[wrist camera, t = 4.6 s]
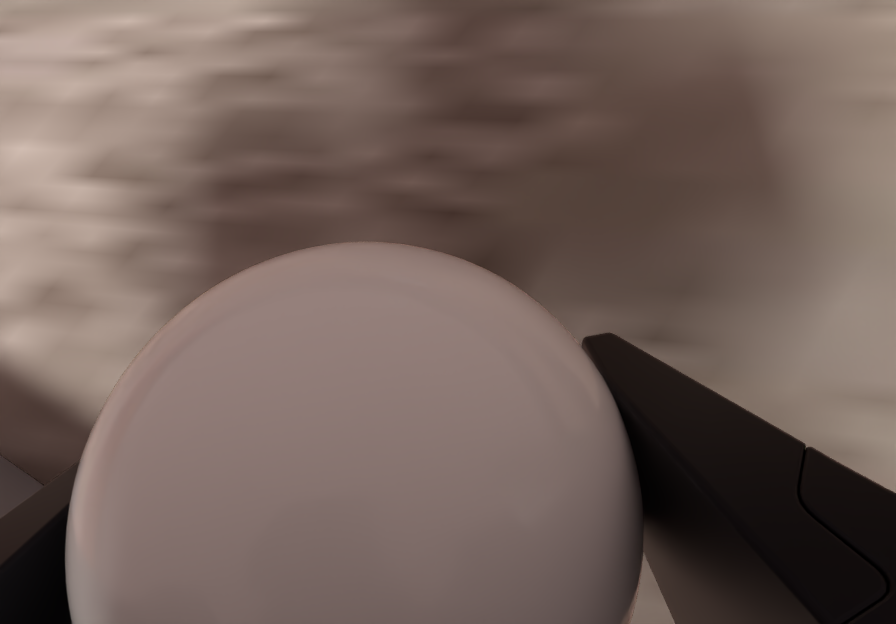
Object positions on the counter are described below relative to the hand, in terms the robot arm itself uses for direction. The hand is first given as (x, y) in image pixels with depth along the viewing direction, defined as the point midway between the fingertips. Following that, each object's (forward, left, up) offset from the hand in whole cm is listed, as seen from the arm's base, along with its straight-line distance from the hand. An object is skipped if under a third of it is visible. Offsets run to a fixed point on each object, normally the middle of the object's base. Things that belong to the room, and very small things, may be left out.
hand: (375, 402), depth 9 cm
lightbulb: (-1, -1, -7) cm, 7 cm away
